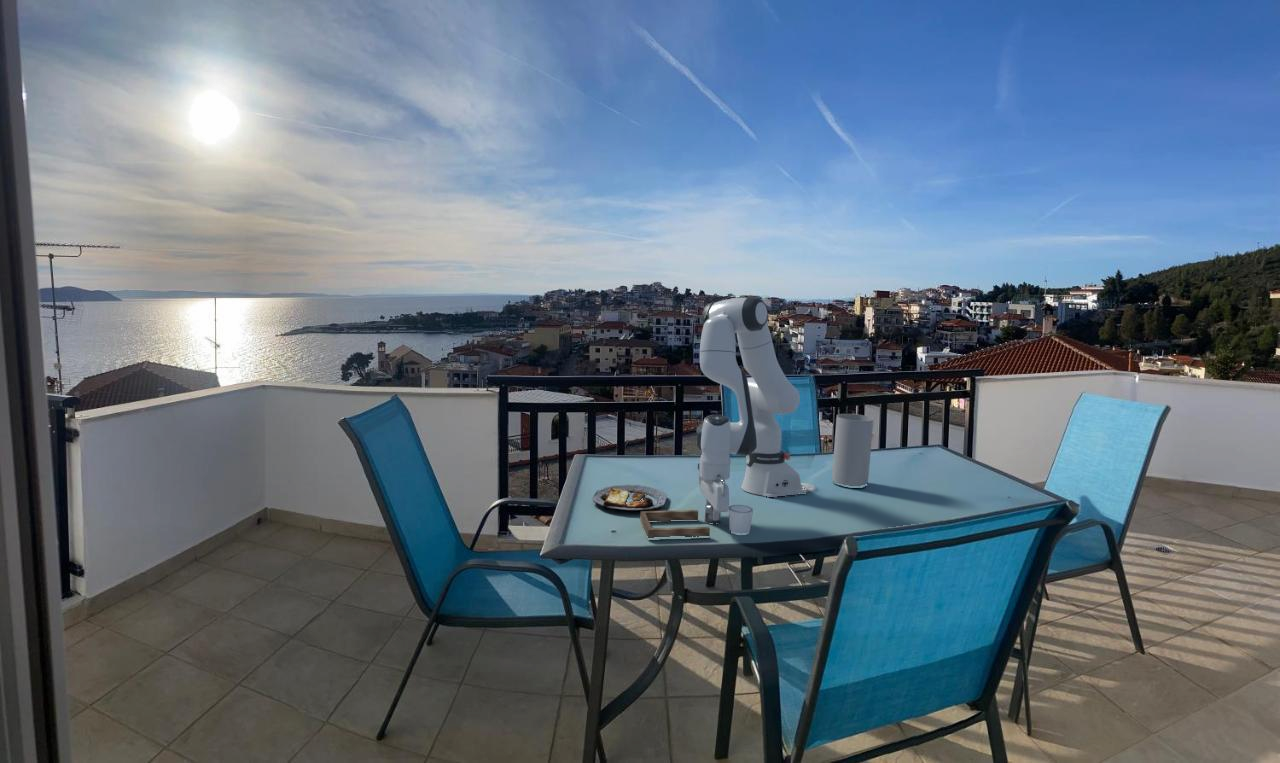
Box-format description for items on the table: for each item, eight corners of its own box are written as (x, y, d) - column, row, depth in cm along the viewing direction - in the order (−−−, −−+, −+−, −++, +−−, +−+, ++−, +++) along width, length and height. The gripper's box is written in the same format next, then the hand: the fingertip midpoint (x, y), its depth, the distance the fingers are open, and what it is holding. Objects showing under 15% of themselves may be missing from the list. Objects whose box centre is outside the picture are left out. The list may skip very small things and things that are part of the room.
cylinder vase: (849, 477, 227) (854, 413, 224) (875, 487, 216) (881, 419, 212) (824, 481, 222) (829, 415, 218) (849, 491, 211) (854, 421, 207)
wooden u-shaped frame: (696, 519, 179) (697, 509, 179) (709, 538, 165) (709, 528, 164) (640, 521, 176) (640, 511, 176) (648, 540, 162) (648, 530, 162)
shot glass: (725, 527, 174) (726, 504, 173) (748, 527, 174) (749, 504, 173) (730, 536, 167) (731, 512, 166) (754, 536, 167) (755, 512, 166)
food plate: (660, 518, 179) (661, 507, 178) (585, 513, 182) (585, 501, 182) (670, 494, 203) (670, 484, 203) (603, 489, 207) (603, 480, 207)
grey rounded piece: (717, 518, 180) (718, 502, 179) (722, 524, 176) (722, 507, 175) (703, 518, 179) (703, 502, 179) (707, 524, 175) (707, 508, 174)
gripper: (735, 481, 166) (733, 528, 168) (715, 461, 186) (713, 503, 188) (713, 481, 165) (711, 529, 167) (696, 461, 185) (694, 504, 187)
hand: (712, 515), depth 177 cm, fingers closed on grey rounded piece, 5 cm apart
